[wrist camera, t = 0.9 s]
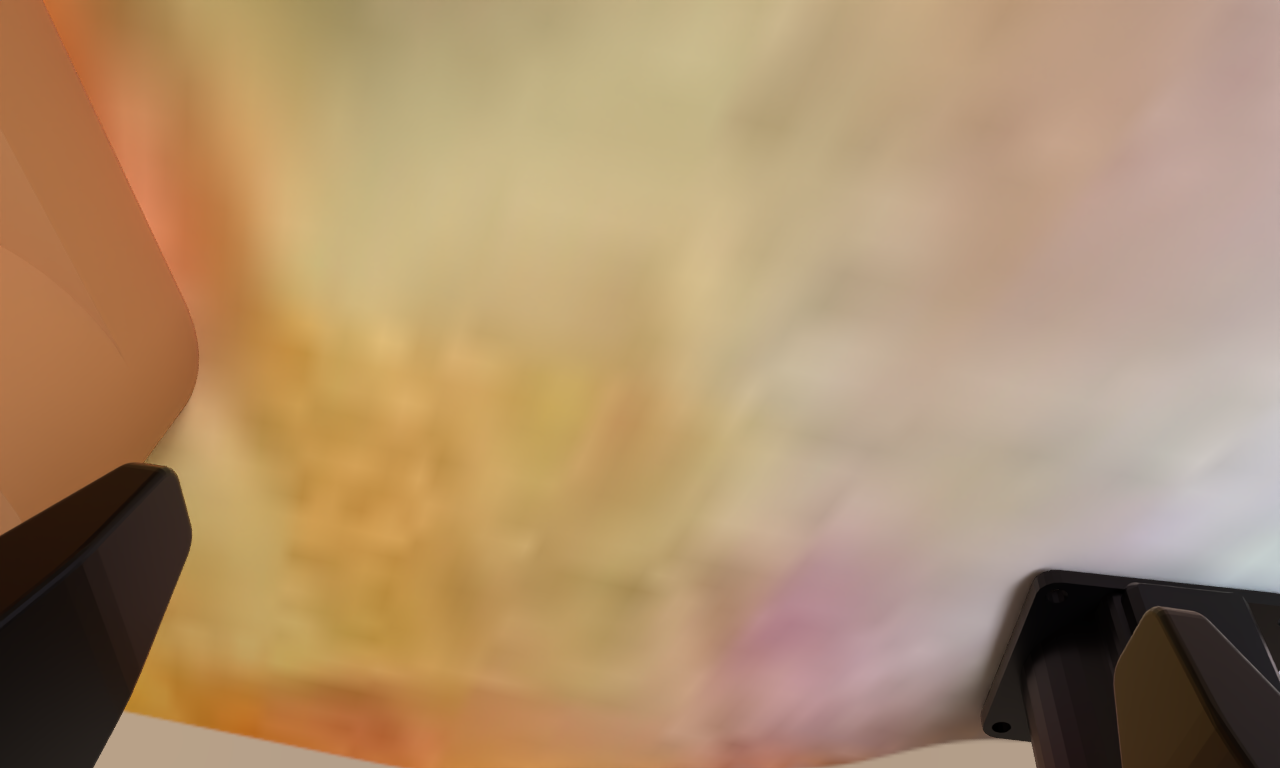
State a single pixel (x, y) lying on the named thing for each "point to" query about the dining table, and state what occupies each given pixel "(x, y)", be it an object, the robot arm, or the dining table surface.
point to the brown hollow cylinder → (75, 287)
